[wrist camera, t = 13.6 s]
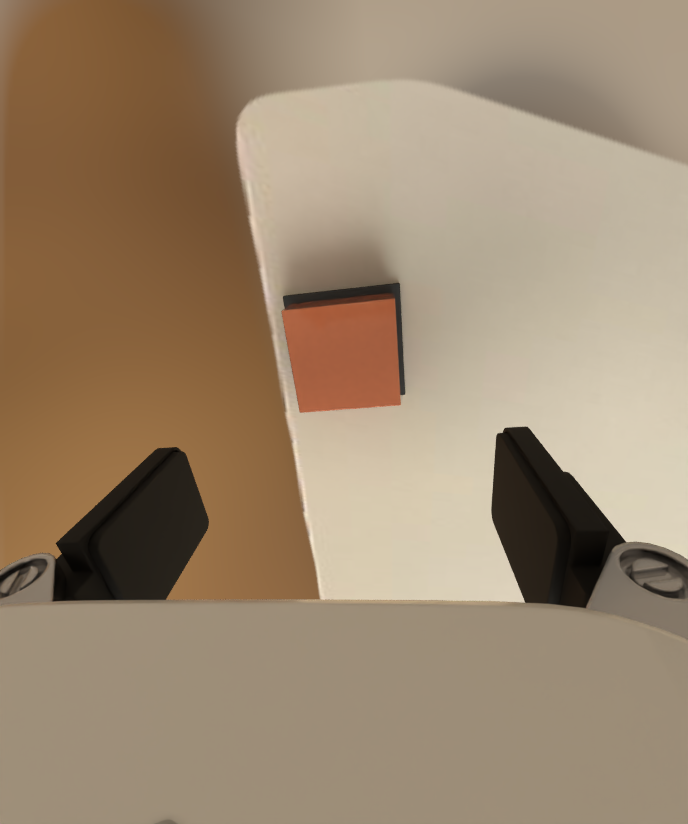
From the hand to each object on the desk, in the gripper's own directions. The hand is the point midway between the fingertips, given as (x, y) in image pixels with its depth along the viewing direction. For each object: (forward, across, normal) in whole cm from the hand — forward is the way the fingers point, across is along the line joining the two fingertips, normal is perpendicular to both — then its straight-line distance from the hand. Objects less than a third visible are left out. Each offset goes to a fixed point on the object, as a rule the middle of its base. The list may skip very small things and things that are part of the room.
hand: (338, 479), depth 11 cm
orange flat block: (+18, +1, +1) cm, 18 cm away
